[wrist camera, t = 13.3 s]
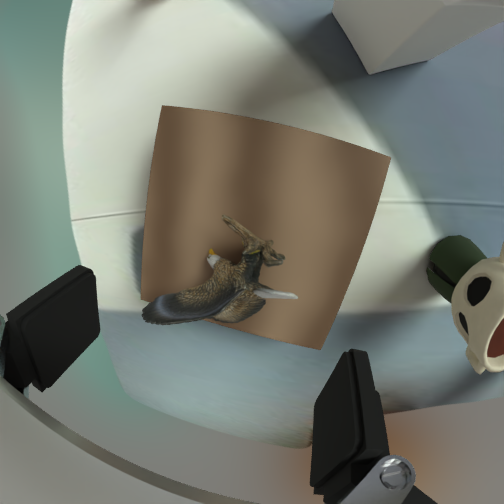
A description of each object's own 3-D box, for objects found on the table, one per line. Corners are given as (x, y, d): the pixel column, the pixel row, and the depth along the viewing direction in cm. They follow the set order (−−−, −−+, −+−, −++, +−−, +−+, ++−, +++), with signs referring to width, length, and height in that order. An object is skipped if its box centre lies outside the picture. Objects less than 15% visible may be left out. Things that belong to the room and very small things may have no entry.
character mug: (431, 205, 22) (516, 257, 10) (484, 214, 21) (568, 262, 9) (409, 308, 26) (455, 397, 14) (460, 307, 25) (513, 384, 13)
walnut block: (369, 154, 22) (391, 157, 16) (317, 312, 28) (320, 350, 23) (191, 112, 23) (162, 105, 17) (167, 271, 29) (140, 299, 24)
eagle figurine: (205, 186, 18) (132, 286, 20) (247, 243, 13) (144, 364, 14) (277, 238, 23) (209, 316, 24) (329, 295, 17) (238, 383, 19)
